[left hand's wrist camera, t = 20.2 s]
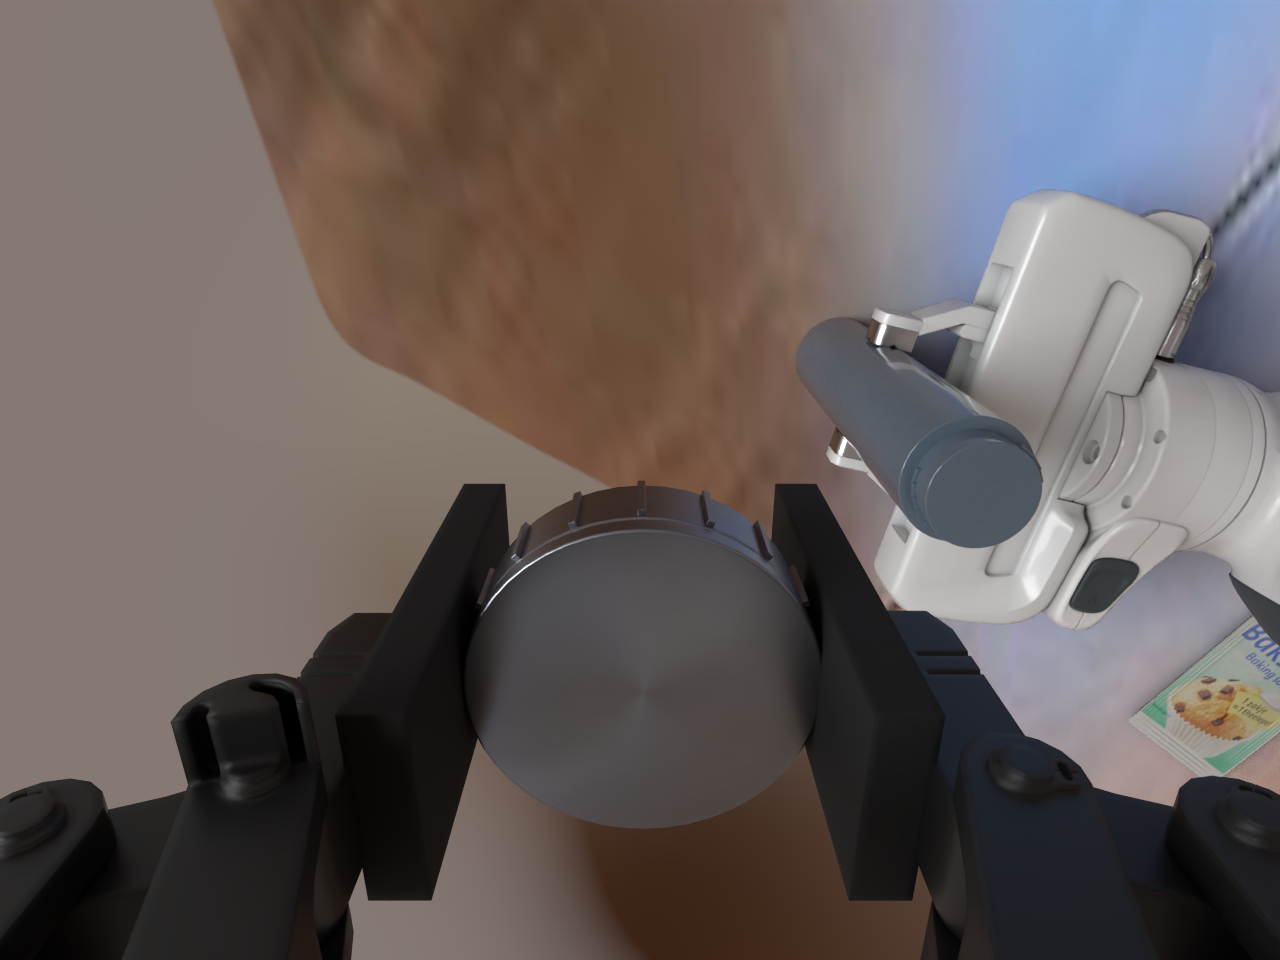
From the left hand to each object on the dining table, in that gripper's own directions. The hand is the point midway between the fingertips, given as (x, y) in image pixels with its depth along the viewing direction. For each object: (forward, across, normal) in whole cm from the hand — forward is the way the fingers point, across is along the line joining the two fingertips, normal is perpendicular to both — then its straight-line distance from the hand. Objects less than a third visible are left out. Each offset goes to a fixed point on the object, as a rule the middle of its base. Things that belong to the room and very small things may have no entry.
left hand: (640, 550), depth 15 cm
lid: (-4, 0, 0) cm, 4 cm away
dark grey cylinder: (+28, +11, -3) cm, 30 cm away
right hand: (+22, +10, -3) cm, 24 cm away
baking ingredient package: (+28, +40, -23) cm, 54 cm away
